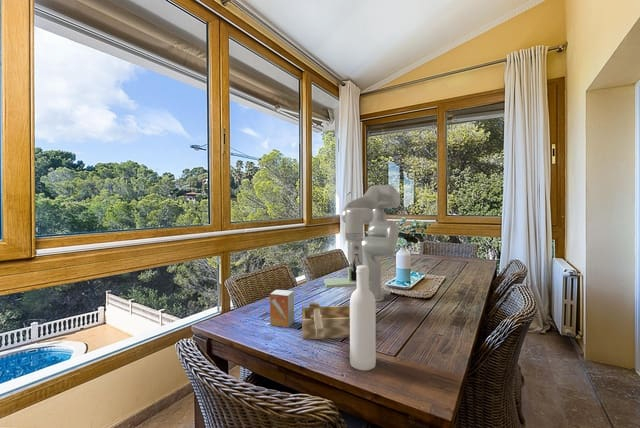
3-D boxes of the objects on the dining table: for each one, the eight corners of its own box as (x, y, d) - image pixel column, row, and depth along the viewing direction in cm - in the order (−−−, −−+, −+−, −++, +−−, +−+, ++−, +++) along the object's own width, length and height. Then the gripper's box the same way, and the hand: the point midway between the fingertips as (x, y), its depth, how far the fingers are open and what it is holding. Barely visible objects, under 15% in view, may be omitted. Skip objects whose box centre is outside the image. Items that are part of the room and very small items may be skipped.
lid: (366, 279, 132) (366, 264, 132) (372, 285, 122) (372, 269, 122) (324, 281, 131) (323, 266, 130) (326, 287, 120) (325, 271, 120)
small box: (269, 325, 117) (269, 293, 117) (276, 319, 123) (276, 289, 123) (288, 328, 115) (288, 295, 114) (294, 321, 121) (294, 290, 120)
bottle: (346, 367, 87) (346, 268, 86) (353, 354, 94) (352, 262, 93) (373, 373, 84) (373, 270, 83) (378, 359, 91) (378, 264, 90)
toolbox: (350, 321, 121) (350, 301, 120) (358, 338, 106) (357, 315, 105) (302, 323, 119) (301, 303, 119) (302, 340, 104) (302, 317, 104)
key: (319, 317, 104) (319, 308, 103) (323, 338, 88) (323, 328, 88) (313, 317, 103) (313, 309, 103) (316, 338, 87) (316, 328, 87)
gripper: (367, 239, 118) (367, 284, 119) (358, 234, 134) (358, 274, 135) (348, 239, 117) (349, 284, 118) (342, 235, 134) (342, 274, 134)
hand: (354, 278), depth 126 cm, fingers closed on lid, 2 cm apart
